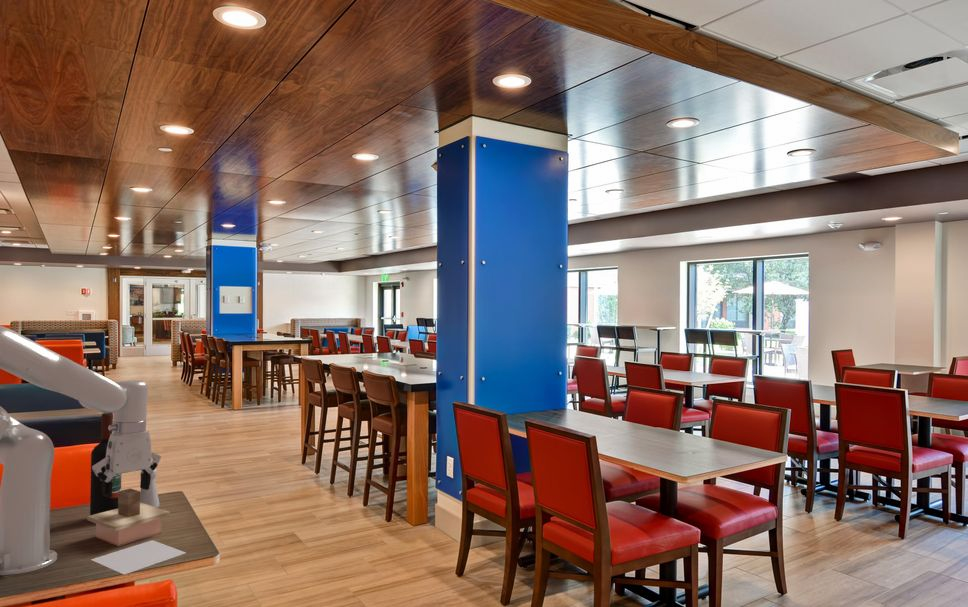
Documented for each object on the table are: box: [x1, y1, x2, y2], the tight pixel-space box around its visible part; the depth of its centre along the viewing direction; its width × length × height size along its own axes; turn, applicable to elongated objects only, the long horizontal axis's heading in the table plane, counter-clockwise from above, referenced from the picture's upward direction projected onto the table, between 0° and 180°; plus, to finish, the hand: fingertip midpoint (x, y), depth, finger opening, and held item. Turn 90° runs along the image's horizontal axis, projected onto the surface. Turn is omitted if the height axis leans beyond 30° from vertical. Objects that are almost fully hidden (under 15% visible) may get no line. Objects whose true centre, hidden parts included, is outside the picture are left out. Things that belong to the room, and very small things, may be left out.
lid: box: [86, 488, 171, 531], centre depth 164 cm, size 14×14×7 cm
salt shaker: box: [139, 468, 160, 508], centre depth 182 cm, size 6×6×13 cm
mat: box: [90, 539, 187, 576], centre depth 150 cm, size 15×15×1 cm
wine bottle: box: [89, 413, 122, 516], centre depth 178 cm, size 8×8×30 cm
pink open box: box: [95, 518, 162, 547], centre depth 164 cm, size 11×11×5 cm
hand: (126, 492), depth 163 cm, fingers open, 9 cm apart
